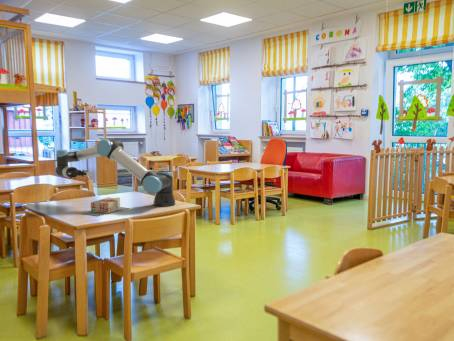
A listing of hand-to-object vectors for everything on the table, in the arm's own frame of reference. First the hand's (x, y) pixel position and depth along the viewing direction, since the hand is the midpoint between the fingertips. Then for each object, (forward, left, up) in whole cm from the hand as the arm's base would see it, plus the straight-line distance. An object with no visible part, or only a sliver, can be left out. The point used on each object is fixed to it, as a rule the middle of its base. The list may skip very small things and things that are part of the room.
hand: (90, 174), depth 278 cm
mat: (-20, +5, -22) cm, 30 cm away
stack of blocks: (-12, +4, -19) cm, 23 cm away
